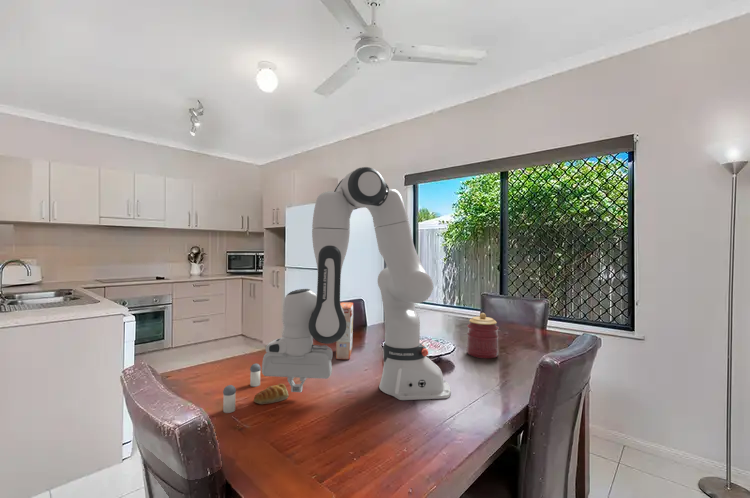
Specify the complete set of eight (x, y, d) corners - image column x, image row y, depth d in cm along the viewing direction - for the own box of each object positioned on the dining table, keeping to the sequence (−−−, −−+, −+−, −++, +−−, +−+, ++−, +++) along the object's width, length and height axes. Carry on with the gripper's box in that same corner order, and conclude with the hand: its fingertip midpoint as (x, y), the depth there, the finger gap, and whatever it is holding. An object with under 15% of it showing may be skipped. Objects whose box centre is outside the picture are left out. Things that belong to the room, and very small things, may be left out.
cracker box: (350, 360, 141) (351, 307, 141) (335, 359, 141) (336, 307, 141) (353, 349, 155) (353, 301, 155) (339, 349, 155) (340, 301, 155)
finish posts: (262, 383, 116) (262, 362, 116) (232, 413, 95) (232, 388, 95) (252, 382, 117) (252, 362, 117) (220, 412, 95) (220, 387, 95)
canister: (464, 349, 159) (465, 309, 159) (494, 350, 158) (495, 310, 158) (468, 358, 147) (469, 315, 146) (501, 359, 145) (502, 316, 145)
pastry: (259, 408, 99) (259, 394, 99) (249, 400, 104) (249, 387, 104) (290, 399, 105) (290, 386, 105) (279, 392, 110) (279, 379, 110)
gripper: (334, 342, 107) (333, 388, 107) (267, 340, 109) (267, 385, 109) (330, 348, 101) (329, 397, 101) (260, 346, 102) (259, 394, 102)
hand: (296, 391), depth 105 cm, fingers closed
